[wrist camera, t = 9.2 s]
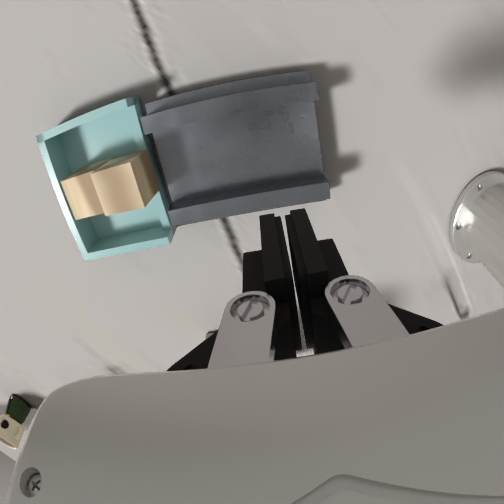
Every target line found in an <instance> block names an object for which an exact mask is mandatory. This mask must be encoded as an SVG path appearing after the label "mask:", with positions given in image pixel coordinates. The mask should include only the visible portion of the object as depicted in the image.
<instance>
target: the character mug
mask: <svg viewBox="0 0 504 504" xmlns="http://www.w3.org/2000/svg"><path fill="white" fill-rule="evenodd" d="M11 396H12V395H11ZM11 396H10V398H9V401H8V404H7V408H6V414H5V415H4V414H1V415H0V442H2V443H3V444H5V445H7V446H8V447H10V448H13V449H16V450H17V448H18V446H19V443H20V440H21V437H22V435H23V432H24V428H23V427H22V426H21V425H20V424H22V423H23V422H24V421H25V419H26V417H27V415H28V414H29V412H30V410H31V409H30V408H29V407H28V405H27V404H26V403H25V402H24V401H23V400H21V399H20V398H18V397H16V396H13V398H12V399H11Z"/></svg>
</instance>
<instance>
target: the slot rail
mask: <svg viewBox="0 0 504 504" xmlns="http://www.w3.org/2000/svg"><path fill="white" fill-rule="evenodd" d="M317 100H319V98H318V91H317V85H316V82H311V78H310V72H309V70H307V71H297V72H289V73H281V74H274V75H268V76H261V77H255V78H249V79H244V80H238V81H233V82H228V83H223V84H219V85H214V86H209V87H205V88H201V89H197V90H193V91H189V92H185V93H181V94H177V95H173V96H170V97H166V98H163V99H159V100H156V101H153V102H149V103H146V104H145V107H146V111H147V115H146V116H143V117H141V118H140V119H141V123H142V126H143V130H144V134H145V135H146V134H150V133H152V134H153V138H154V141H155V145H156V148H157V152H158V156H159V159H160V163H161V166H162V169H163V173H164V176H165V180H166V183H167V186H168V190H169V193H170V196H171V200H172V204H171V206H170V208H169V210H168V214H169V217H170V220H171V223H172V226H176V225H180V226H181V225H186V224H191V223H196V222H202V221H207V220H212V219H218V218H223V217H228V216H234V215H239V214H245V213H251V212H256V211H262V210H268V209H274V208H280V207H286V206H292V205H298V204H304V203H310V202H317V201H323V200H326V199H329V198H330V189H329V182H328V180H327V179H326V177H325V176H324V174H323V165H322V156H321V148H320V140H319V132H318V124H317V117H316V110H315V104H314V101H317Z"/></svg>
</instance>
